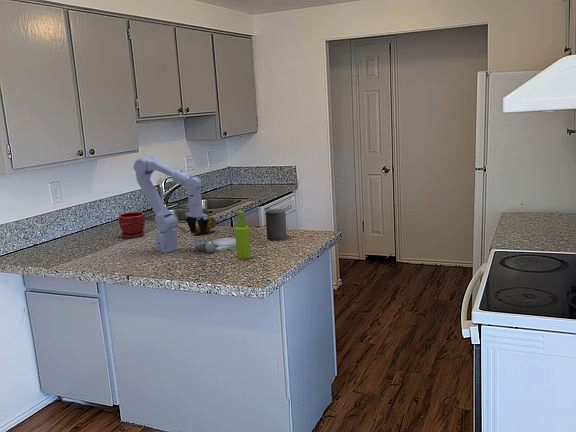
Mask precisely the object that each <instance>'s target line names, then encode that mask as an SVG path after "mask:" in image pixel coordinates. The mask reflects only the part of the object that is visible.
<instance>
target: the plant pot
mask: <svg viewBox="0 0 576 432" xmlns="http://www.w3.org/2000/svg"><path fill="white" fill-rule="evenodd" d="M145 218H146V217H145V213H144V212H142V211H141V212H140V211H130V212H124V213H121V214H119V215H118V224H119V227H120V229H121V236H122V238H126V239H135V238H139V237H142V236H143V235H144V234H145V231H144V229H145V225H146V224H145V223H146V219H145Z"/></svg>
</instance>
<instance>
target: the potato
mask: <svg viewBox="0 0 576 432" xmlns="http://www.w3.org/2000/svg"><path fill="white" fill-rule="evenodd" d="M208 219H209V222H208V224H207V228H206V233H208V232H209V231H210V230H212V229H214V228H216V227H217V226H216V225H217V220H216V218H214V217H212V216H208ZM193 234H194V235H196V236H198V235H201V233H200V228H199V225H198V224H196V232H195V233H193Z"/></svg>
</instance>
